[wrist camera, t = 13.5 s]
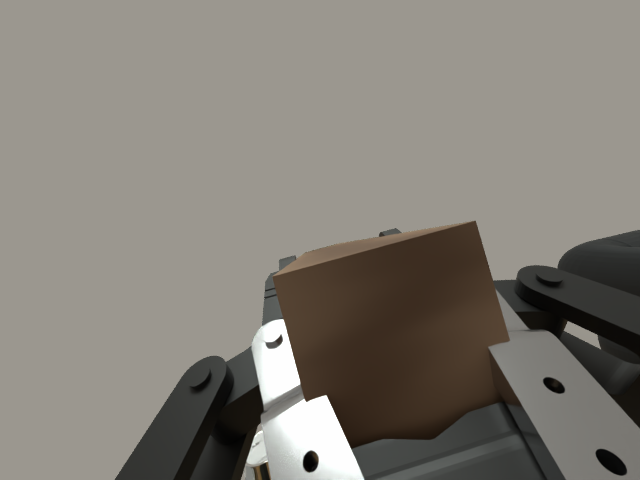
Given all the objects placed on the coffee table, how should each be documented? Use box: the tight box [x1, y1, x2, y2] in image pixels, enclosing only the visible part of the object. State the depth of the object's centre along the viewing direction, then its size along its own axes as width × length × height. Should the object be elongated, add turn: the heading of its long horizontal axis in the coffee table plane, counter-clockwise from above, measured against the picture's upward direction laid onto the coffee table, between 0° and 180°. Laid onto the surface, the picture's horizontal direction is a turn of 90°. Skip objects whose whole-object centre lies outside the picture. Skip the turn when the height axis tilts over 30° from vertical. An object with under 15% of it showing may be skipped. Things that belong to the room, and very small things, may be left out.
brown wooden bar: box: [272, 221, 510, 449], centre depth 16 cm, size 4×23×4 cm, turn 3°
